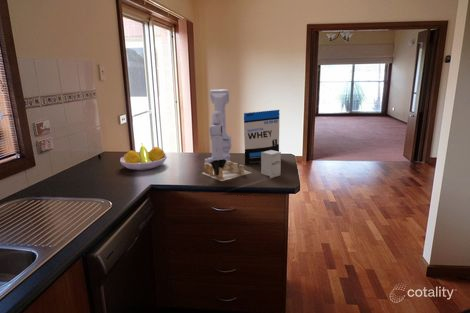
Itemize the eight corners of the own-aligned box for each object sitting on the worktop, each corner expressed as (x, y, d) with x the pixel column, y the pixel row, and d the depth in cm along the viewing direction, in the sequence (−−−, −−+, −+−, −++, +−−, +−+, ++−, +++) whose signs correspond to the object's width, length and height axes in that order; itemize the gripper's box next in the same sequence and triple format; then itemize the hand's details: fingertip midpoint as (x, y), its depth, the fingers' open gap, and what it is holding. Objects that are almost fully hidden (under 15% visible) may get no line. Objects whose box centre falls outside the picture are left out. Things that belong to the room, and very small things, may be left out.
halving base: (201, 174, 178) (200, 164, 177) (230, 167, 190) (230, 157, 189) (221, 183, 164) (221, 171, 163) (252, 174, 176) (251, 163, 175)
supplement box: (271, 178, 169) (271, 154, 166) (260, 175, 175) (260, 151, 171) (281, 175, 174) (281, 151, 170) (270, 172, 179) (270, 149, 176)
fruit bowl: (162, 173, 183) (161, 153, 180) (113, 174, 184) (111, 154, 181) (172, 159, 210) (171, 142, 207) (130, 160, 211) (128, 143, 208)
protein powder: (240, 163, 199) (239, 112, 191) (274, 157, 210) (274, 109, 202) (249, 166, 190) (248, 114, 183) (283, 160, 202) (284, 110, 194)
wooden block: (204, 172, 179) (204, 163, 178) (207, 171, 180) (206, 162, 179) (220, 178, 169) (219, 168, 167) (222, 177, 169) (222, 168, 168)
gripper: (210, 152, 160) (211, 179, 163) (233, 147, 168) (234, 172, 172) (201, 149, 165) (203, 175, 168) (225, 144, 174) (226, 170, 177)
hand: (218, 174), depth 171 cm, fingers closed on wooden block, 2 cm apart
